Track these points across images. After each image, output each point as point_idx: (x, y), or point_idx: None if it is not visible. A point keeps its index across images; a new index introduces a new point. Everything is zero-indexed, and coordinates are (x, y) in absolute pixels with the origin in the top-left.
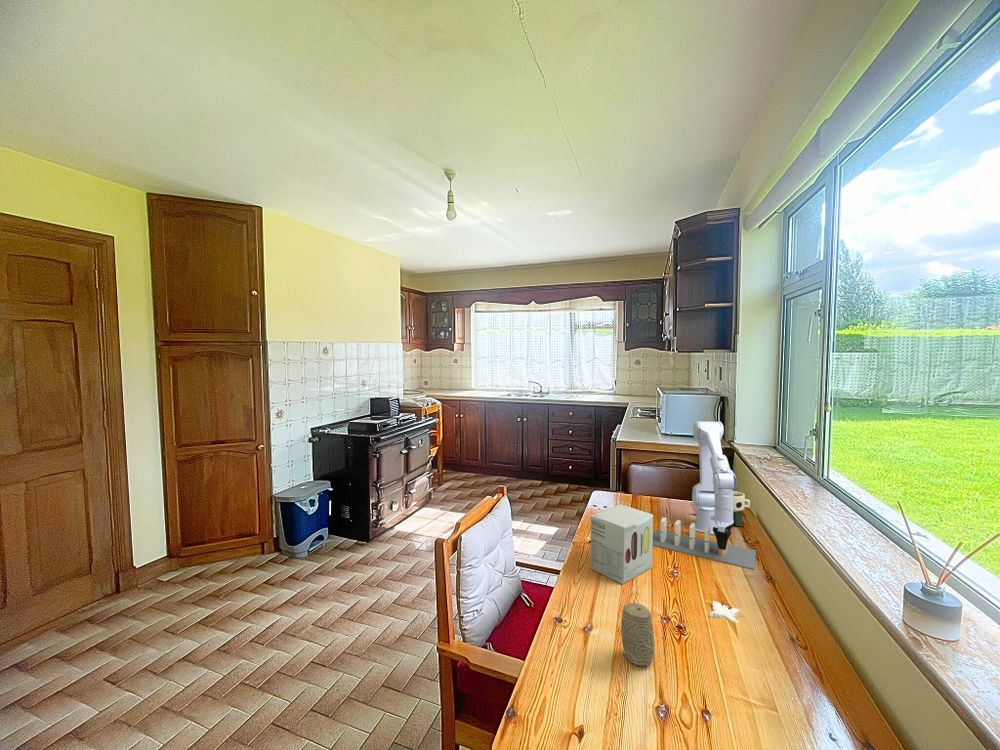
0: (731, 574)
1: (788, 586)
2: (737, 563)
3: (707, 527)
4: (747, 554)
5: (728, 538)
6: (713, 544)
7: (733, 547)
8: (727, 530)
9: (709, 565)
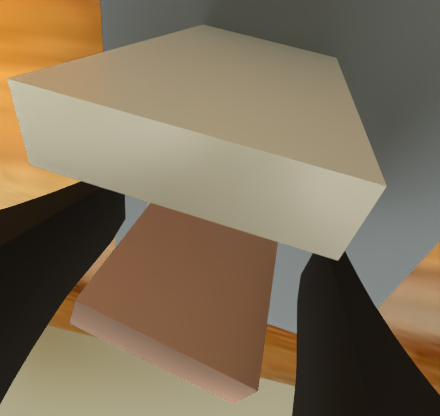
0: (4, 165)
1: (66, 314)
2: (129, 225)
3: (241, 181)
4: (273, 301)
5: (297, 306)
6: (422, 142)
7: (368, 269)
8: (222, 397)
9: (12, 48)
